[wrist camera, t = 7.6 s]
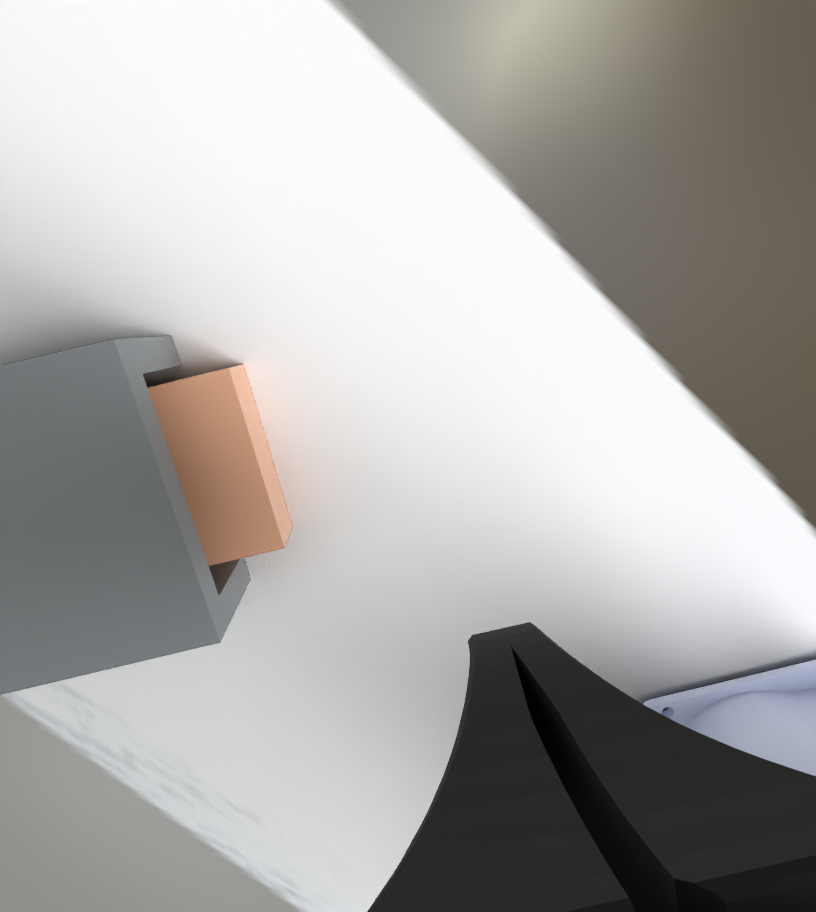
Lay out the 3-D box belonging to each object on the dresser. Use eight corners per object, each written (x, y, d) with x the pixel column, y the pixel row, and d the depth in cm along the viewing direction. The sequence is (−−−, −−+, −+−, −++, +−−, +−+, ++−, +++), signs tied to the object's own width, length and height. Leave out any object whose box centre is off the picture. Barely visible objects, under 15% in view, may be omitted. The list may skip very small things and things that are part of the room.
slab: (246, 363, 19) (228, 368, 17) (294, 522, 20) (284, 547, 18) (19, 417, 19) (-30, 430, 17) (83, 573, 20) (47, 605, 18)
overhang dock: (171, 335, 18) (113, 338, 14) (250, 578, 20) (220, 642, 16) (-31, 382, 18) (-147, 399, 14) (70, 621, 20) (-6, 695, 16)
